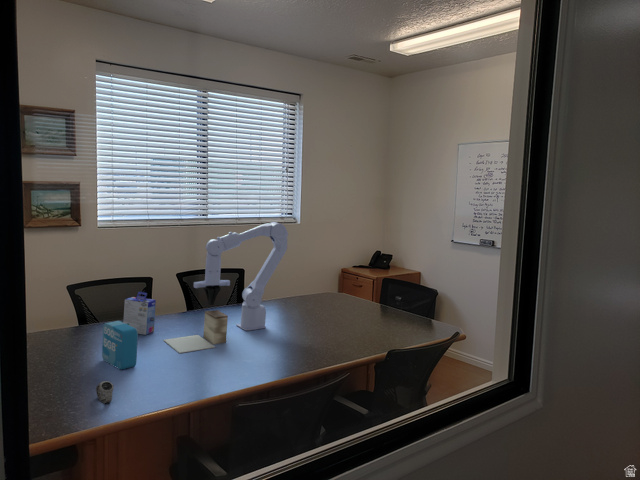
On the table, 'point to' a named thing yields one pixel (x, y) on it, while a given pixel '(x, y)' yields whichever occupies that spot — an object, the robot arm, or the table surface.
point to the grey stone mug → (105, 391)
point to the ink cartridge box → (140, 313)
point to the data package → (119, 344)
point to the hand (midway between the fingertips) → (210, 304)
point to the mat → (189, 343)
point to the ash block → (215, 327)
